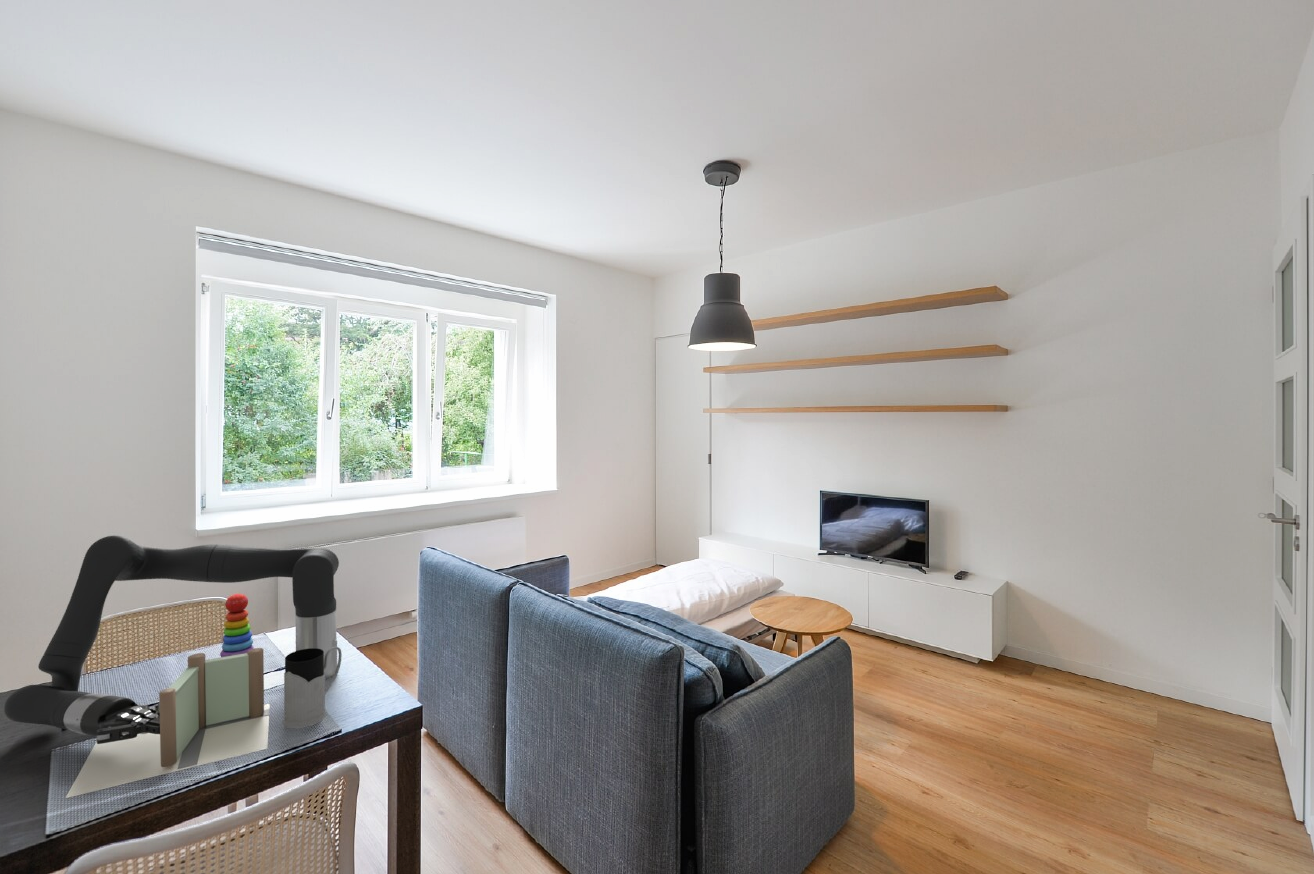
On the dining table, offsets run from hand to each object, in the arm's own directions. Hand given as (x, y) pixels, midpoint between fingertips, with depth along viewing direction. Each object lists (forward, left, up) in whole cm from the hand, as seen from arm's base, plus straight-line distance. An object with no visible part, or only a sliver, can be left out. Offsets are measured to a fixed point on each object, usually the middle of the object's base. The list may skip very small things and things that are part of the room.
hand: (167, 727), depth 115 cm
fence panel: (-2, -2, -6) cm, 7 cm away
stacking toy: (-9, -47, -7) cm, 49 cm away
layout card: (-2, -5, -7) cm, 9 cm away
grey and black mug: (-26, -6, -7) cm, 27 cm away
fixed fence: (-9, -11, -7) cm, 16 cm away
